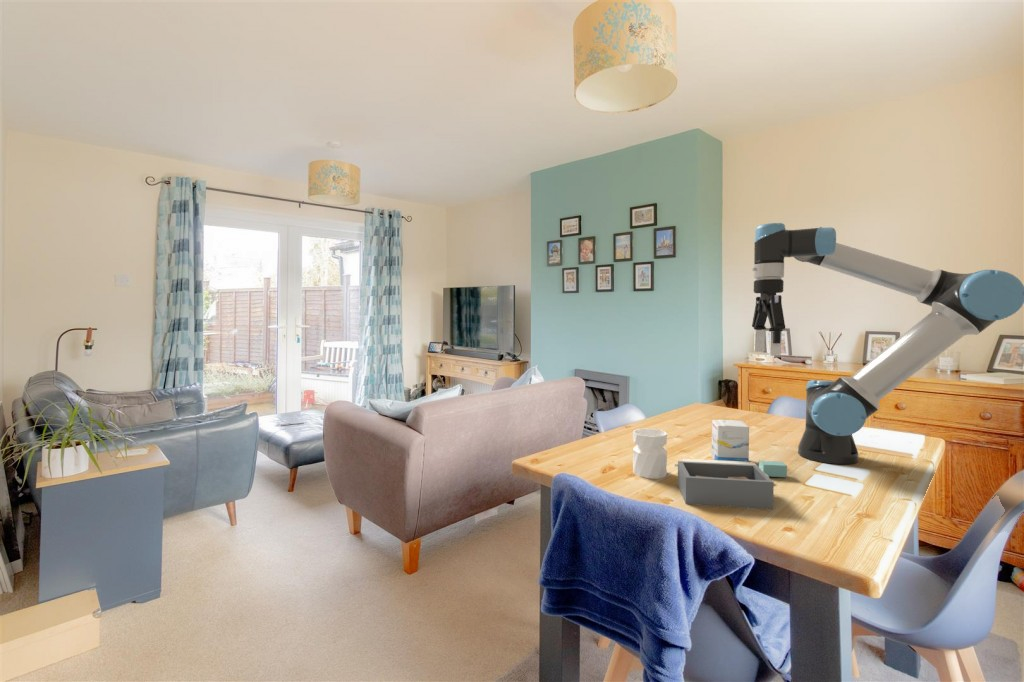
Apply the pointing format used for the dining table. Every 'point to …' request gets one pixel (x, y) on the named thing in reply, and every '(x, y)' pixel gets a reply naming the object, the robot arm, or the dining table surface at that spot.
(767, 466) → the cream flat block
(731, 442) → the ink box
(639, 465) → the white vase
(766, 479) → the tub
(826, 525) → the dining table surface
